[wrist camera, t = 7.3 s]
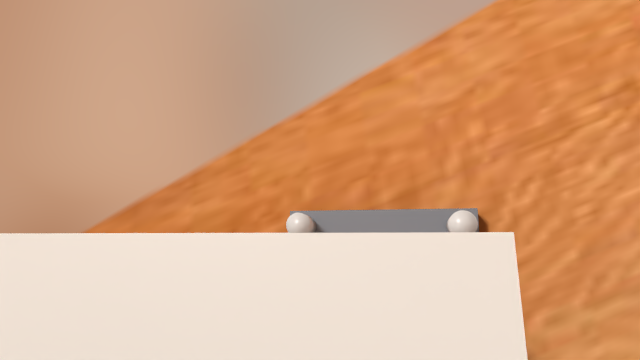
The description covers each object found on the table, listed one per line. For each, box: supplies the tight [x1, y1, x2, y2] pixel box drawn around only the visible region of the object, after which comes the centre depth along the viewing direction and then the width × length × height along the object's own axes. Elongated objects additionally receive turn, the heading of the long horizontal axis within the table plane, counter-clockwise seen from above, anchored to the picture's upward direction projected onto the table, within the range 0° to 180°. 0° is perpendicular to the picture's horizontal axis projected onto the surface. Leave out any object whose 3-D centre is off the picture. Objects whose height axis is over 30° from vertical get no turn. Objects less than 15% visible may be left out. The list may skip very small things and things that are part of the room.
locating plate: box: [286, 208, 479, 233], centre depth 20 cm, size 11×11×2 cm
